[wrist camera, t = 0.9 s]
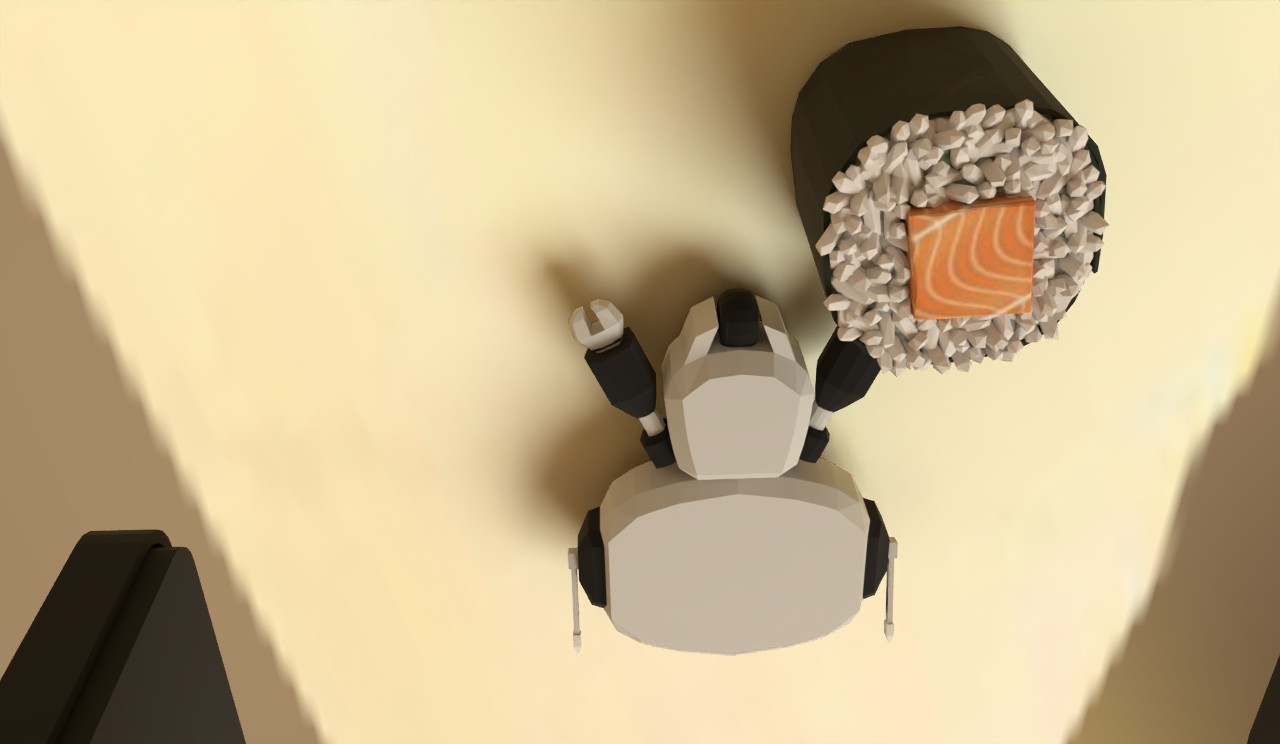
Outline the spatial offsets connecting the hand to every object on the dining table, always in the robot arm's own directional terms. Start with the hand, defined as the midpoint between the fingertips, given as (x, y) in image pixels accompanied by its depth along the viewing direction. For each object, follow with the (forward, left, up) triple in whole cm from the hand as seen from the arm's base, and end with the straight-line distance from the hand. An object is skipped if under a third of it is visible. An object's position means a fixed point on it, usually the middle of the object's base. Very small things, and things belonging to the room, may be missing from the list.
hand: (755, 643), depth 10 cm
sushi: (+12, +1, -30) cm, 32 cm away
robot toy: (+17, -11, -30) cm, 36 cm away
